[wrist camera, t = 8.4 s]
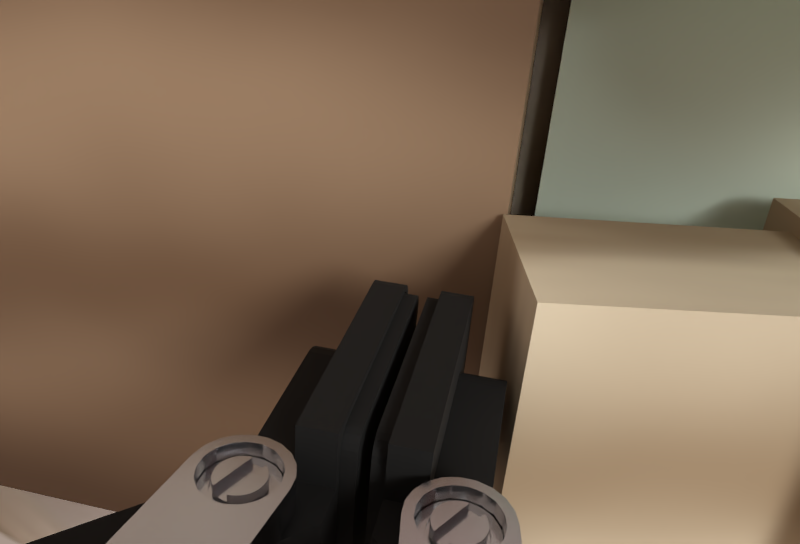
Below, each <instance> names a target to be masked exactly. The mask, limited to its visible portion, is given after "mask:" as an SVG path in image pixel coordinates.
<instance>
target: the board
mask: <svg viewBox="0 0 800 544" xmlns="http://www.w3.org/2000/svg"><path fill="white" fill-rule="evenodd" d="M543 1H544V0H0V485H2V486H7V487H11V488H15V489H20V490H24V491H29V492H33V493H37V494H42V495H46V496H50V497H55V498H59V499H63V500H68V501H72V502H77V503H81V504H85V505H90V506H94V507H98V508H103V509H107V510H111V511H116V512H119V511H121V510H124V509H127V508H130V507H133V506H136V505H139V504H142V503H144V502H146V501H147V500H148V499H149V498H150V497H151V496H152V495H153V494H154V493H155V492H156V491H157V490H158V489H159V488H160V487H161V486H162V485H163V484H164V483H165V482H166V481H167V480H168V479H169V478H170V477H171V476H172V475H173V474H174V473H175V472H176V471H177V469H178V468H179V467H180V466H181V465H182V464H183V463H184V462H185V461H186V460H187V459H188V458H189V457H190V456H191V455H192V454H193V453H195V452H196V451H197V450H199V449H200V448H201V447H202V446H204V445H206V444H208V443H210V442H212V441H215V440H217V439H219V438H224V437H228V436H233V435H258V434H259V432H260V430H261V429H262V427H263V425H264V424H265V422H266V420H267V419H268V417H269V416H270V414H271V412H272V411H273V409H274V407H275V406H276V404H277V402H278V401H279V399H280V397H281V396H282V394H283V393H284V391H285V389H286V388H287V386H288V384H289V383H290V381H291V379H292V378H293V376H294V374H295V373H296V371H297V370H298V368H299V366H300V365H301V363H302V361H303V360H304V358H305V356H306V355H307V353H308V351H309V350H310V349H311V348H312V347H313V346H320V347H325V348H331V349H336V350H337V348H338V346H339V344H340V342H341V340H342V339H343V337H344V335H345V333H346V331H347V329H348V328H349V326H350V324H351V322H352V320H353V318H354V317H355V315H356V313H357V311H358V309H359V307H360V306H361V304H362V302H363V300H364V298H365V296H366V295H367V293H368V291H369V289H370V287H371V285H372V284H373V282H374V281H375V280H380V281H386V282H392V283H398V284H404V285H407V286H408V294H412V295H418V297H419V303H418V313H417V323H418V321H419V318H420V315H421V313H422V310H423V307H424V305H425V302H426V299H427V297H430V298H436V299H439V296H440V293H441V291H446V292H452V293H458V294H464V295H470V296H474V304H473V312H472V319H471V326H470V333H469V340H468V347H467V354H466V362H465V369H464V373H467V374H473V375H478V376H479V370H480V363H481V357H482V350H483V344H484V337H485V331H486V324H487V318H488V311H489V304H490V298H491V291H492V285H493V278H494V272H495V265H496V258H497V252H498V245H499V239H500V232H501V226H502V219H503V214H506V215H510V214H511V207H512V201H513V194H514V188H515V181H516V175H517V168H518V162H519V156H520V149H521V143H522V136H523V130H524V123H525V117H526V110H527V104H528V97H529V91H530V85H531V78H532V72H533V65H534V59H535V52H536V46H537V39H538V33H539V26H540V20H541V14H542V7H543ZM417 323H416V326H417Z"/></svg>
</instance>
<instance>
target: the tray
mask: <svg viewBox="0 0 800 544" xmlns="http://www.w3.org/2000/svg"><path fill="white" fill-rule="evenodd" d="M773 198H785V199H800V0H571V4H570V9H569V15H568V21H567V27H566V33H565V39H564V44H563V50H562V56H561V62H560V68H559V74H558V80H557V85H556V91H555V97H554V103H553V109H552V115H551V120H550V126H549V132H548V138H547V144H546V150H545V155H544V161H543V167H542V173H541V179H540V185H539V190H538V196H537V202H536V208H535V214H534V216H539V217H555V218H572V219H588V220H605V221H621V222H637V223H654V224H670V225H686V226H703V227H719V228H735V229H752V230H763V228H764V225H765V222H766V219H767V216H768V213H769V210H770V207H771V204H772V200H773Z"/></svg>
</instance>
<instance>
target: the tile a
mask: <svg viewBox="0 0 800 544" xmlns="http://www.w3.org/2000/svg"><path fill="white" fill-rule="evenodd" d="M479 376H484V377H489V378H494V379H500V380H505V381H507V387H506V395H505V402H504V410H503V417H502V425H501V432H500V440H499V447H498V454H497V462H496V469H495V477H494V484H493V489H495V490H496V491H497V492H499V493H500V494H501V495H503V496H504V497H505V498H506V499H507V500H508V502H509V503H510V504H511V506H512V507H513V508H514V510H515V511H516V514H517V518H518V521H519V524H520V531H521V539H522V544H799V543H800V240H799V239H798V238H796V237H795V236H794V235H793V234H791V233H790V232H784V231H768V230H752V229H735V228H719V227H703V226H686V225H670V224H654V223H637V222H621V221H605V220H588V219H572V218H555V217H539V216H523V215H506V214H503V219H502V226H501V232H500V239H499V245H498V252H497V258H496V265H495V272H494V278H493V285H492V291H491V298H490V304H489V311H488V318H487V324H486V331H485V337H484V344H483V350H482V357H481V363H480V370H479Z"/></svg>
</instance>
